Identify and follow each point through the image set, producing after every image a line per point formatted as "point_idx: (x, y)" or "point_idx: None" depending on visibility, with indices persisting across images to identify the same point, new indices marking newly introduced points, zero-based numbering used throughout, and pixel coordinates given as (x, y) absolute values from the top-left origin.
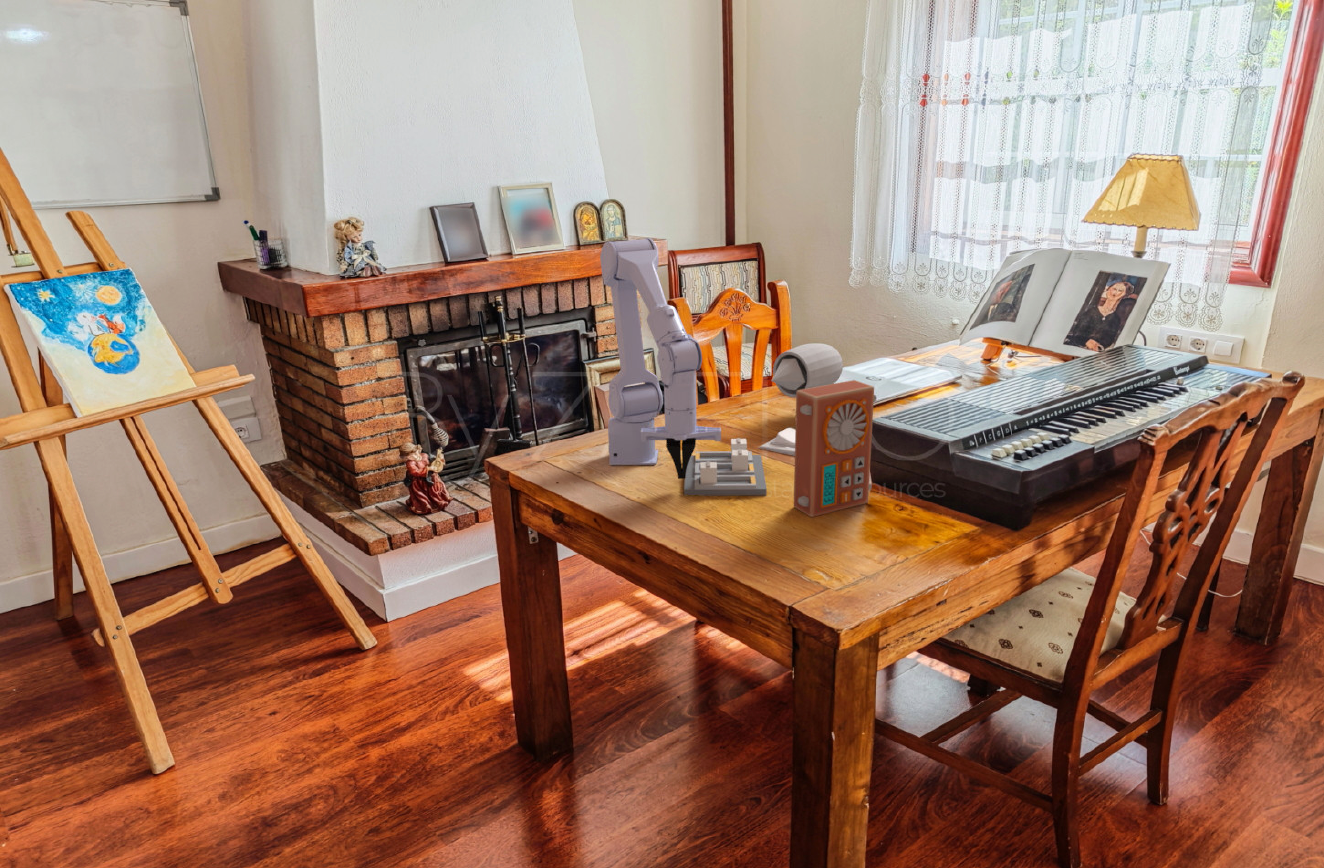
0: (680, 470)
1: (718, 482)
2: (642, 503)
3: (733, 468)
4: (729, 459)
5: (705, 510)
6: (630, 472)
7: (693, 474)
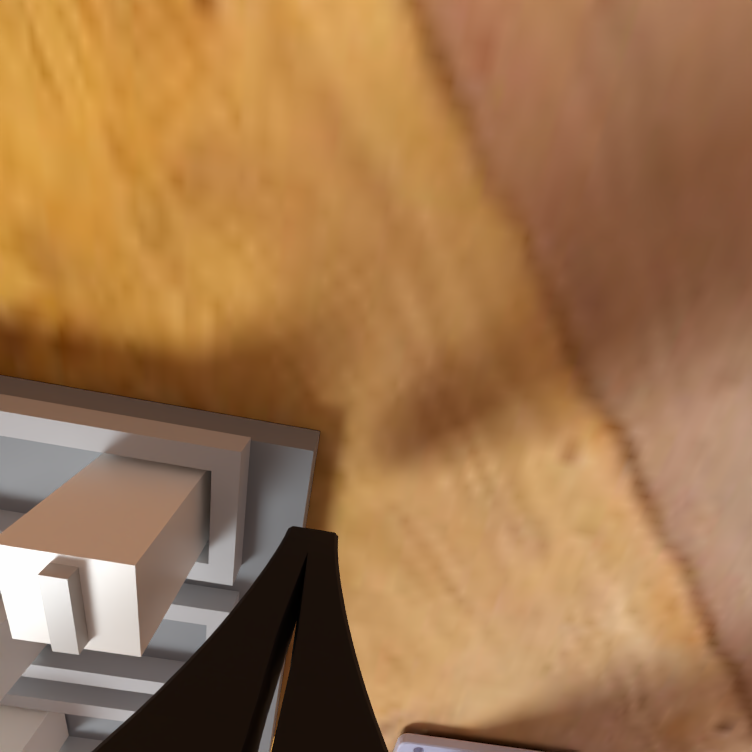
0: (309, 575)
1: None
2: (574, 376)
3: (4, 612)
4: (54, 707)
5: (207, 185)
6: (519, 695)
7: None
